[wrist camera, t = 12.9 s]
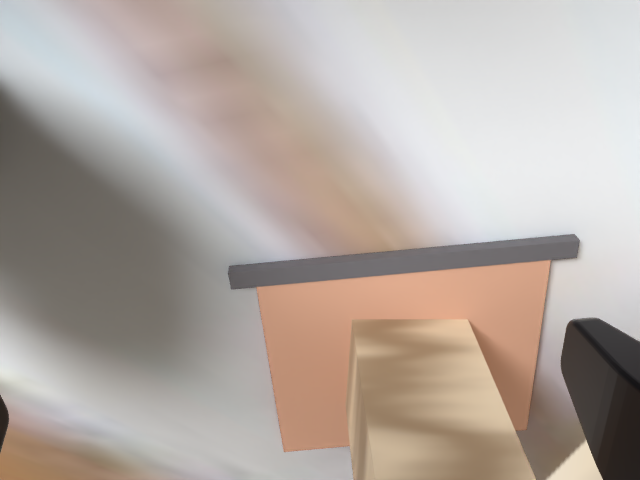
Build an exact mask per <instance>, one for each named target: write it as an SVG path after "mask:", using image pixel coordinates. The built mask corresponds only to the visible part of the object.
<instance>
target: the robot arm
mask: <svg viewBox="0 0 640 480" xmlns="http://www.w3.org/2000/svg"><path fill="white" fill-rule="evenodd" d="M561 370H562V374H563V377H564V380H565V383H566V385H567V388H568V391H569V393H570V396H571V399H572V402H573V404H574V407H575V410H576V413H577V415H578V418H579V421H580V423H581V426H582V429H583V432H584V434H585V437H586V440H587V442H588V445H589V448H590V450H591V453H592V456H593V458H594V460H595V463H596V465H597V467H598V469H599V472H600V474H601V476H602V478H603V480H640V342H639V341H638V340H636V339H634V338H632V337H631V336H629V335H627V334H625V333H624V332H622V331H620V330H618V329H617V328H615V327H613V326H611V325H610V324H608V323H606V322H604V321H602V320H600V319H598V318H583V319H573V320H571V321H570V322H569V323H568V325H567V328H566V333H565V338H564V344H563V350H562V356H561ZM8 422H9V414H8V410H7V407H6V405H5V403H4V401H3V399H2V397H1V395H0V452H1V449H2V445H3V442H4V438H5V435H6V431H7V428H8Z"/></svg>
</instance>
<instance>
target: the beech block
mask: <svg viewBox="0 0 640 480" xmlns="http://www.w3.org/2000/svg"><path fill="white" fill-rule="evenodd" d="M346 414H347V423H348V432H349V441H350V450H351V460H352V469H353V478H354V480H536V478H535V476H534V473H533V471H532V469H531V466H530V464H529V462H528V459H527V457H526V455H525V452H524V450H523V448H522V445H521V443H520V440H519V438H518V436H517V433H516V431H515V429H514V426H513V424H512V422H511V419H510V417H509V415H508V412H507V410H506V408H505V405H504V403H503V401H502V398H501V396H500V394H499V391H498V389H497V387H496V384H495V382H494V379H493V377H492V375H491V372H490V370H489V368H488V365H487V363H486V361H485V358H484V356H483V354H482V351H481V349H480V347H479V344H478V342H477V340H476V337H475V335H474V333H473V330H472V328H471V326H470V323H469V321H468V319H353V320H352V324H351V338H350V351H349V364H348V378H347V391H346Z"/></svg>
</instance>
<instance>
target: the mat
mask: <svg viewBox="0 0 640 480" xmlns="http://www.w3.org/2000/svg"><path fill="white" fill-rule="evenodd" d="M579 241H580V240H579V239H578V238H577V237H576V236H575V235H574V234H571V235H560V236H550V237H539V238H528V239H517V240H506V241H496V242H485V243H474V244H463V245H452V246H441V247H431V248H420V249H409V250H398V251H387V252H377V253H366V254H355V255H344V256H333V257H322V258H312V259H301V260H290V261H279V262H268V263H258V264H247V265H236V266H229V271H228V275H229V280H230V285H231V289H241V288H252V287H256V288H257V294H258V300H259V306H260V312H261V318H262V324H263V330H264V336H265V342H266V348H267V354H268V360H269V366H270V372H271V378H272V384H273V390H274V396H275V402H276V408H277V414H278V420H279V426H280V432H281V438H282V444H283V450H284V452H290V451H301V450H312V449H323V448H333V447H344V446H350V441H349V432H348V423H347V414H346V391H347V378H348V364H349V351H350V338H351V324H352V320H353V319H468V321H469V323H470V326H471V328H472V330H473V333H474V335H475V337H476V340H477V342H478V344H479V347H480V349H481V351H482V354H483V356H484V358H485V361H486V363H487V365H488V368H489V370H490V372H491V375H492V377H493V379H494V382H495V384H496V387H497V389H498V391H499V394H500V396H501V398H502V401H503V403H504V405H505V408H506V410H507V412H508V415H509V417H510V419H511V422H512V424H513V426H514V429H515V431H520V430H527V424H528V417H529V410H530V402H531V395H532V388H533V381H534V374H535V367H536V360H537V353H538V346H539V339H540V332H541V325H542V318H543V311H544V304H545V297H546V290H547V283H548V276H549V269H550V262H551V260H555V259H566V258H577V253H578V247H579Z"/></svg>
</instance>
